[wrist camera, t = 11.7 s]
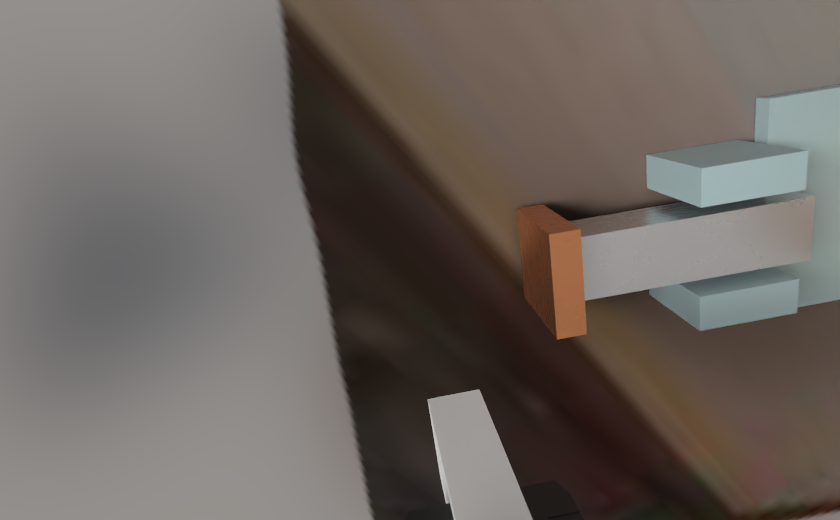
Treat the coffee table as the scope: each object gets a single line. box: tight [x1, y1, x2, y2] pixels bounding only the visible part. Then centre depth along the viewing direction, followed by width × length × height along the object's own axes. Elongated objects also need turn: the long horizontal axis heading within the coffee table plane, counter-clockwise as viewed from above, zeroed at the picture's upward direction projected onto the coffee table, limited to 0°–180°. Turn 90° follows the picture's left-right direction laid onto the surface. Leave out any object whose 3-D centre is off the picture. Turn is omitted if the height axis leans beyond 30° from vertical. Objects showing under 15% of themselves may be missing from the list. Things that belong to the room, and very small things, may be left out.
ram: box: [516, 192, 815, 339], centre depth 27 cm, size 5×13×5 cm, turn 98°
